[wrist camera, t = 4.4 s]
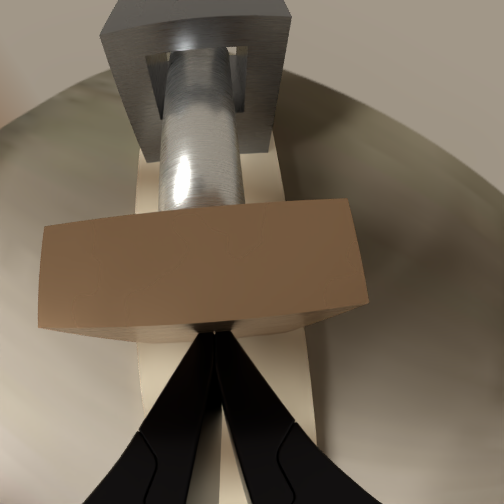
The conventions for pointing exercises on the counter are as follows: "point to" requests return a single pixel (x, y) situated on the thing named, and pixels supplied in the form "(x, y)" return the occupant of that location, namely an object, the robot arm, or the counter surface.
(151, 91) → the bearing block
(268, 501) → the robot arm
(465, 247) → the counter surface
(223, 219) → the wooden block with shaft
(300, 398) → the birch base plate
